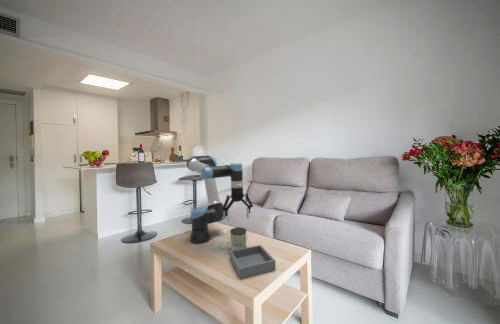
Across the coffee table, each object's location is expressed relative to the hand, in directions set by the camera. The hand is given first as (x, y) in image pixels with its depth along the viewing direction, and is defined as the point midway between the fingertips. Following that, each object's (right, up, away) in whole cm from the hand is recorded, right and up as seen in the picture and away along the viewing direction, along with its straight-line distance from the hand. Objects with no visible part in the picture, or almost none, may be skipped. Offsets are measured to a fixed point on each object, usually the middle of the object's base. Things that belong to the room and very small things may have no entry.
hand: (238, 219), depth 137 cm
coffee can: (0, -22, +2) cm, 22 cm away
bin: (+9, -22, -15) cm, 28 cm away
